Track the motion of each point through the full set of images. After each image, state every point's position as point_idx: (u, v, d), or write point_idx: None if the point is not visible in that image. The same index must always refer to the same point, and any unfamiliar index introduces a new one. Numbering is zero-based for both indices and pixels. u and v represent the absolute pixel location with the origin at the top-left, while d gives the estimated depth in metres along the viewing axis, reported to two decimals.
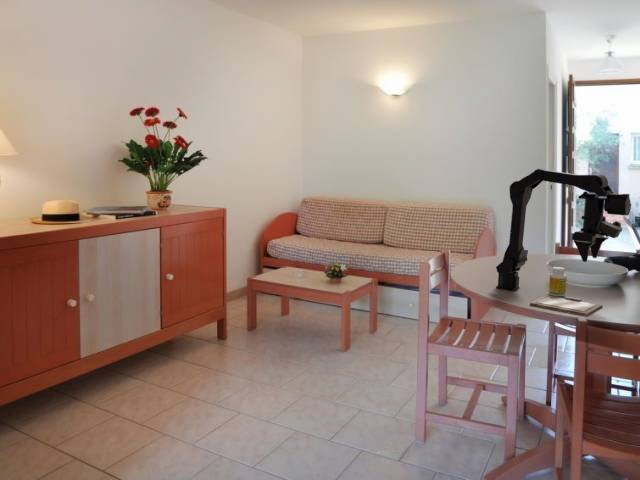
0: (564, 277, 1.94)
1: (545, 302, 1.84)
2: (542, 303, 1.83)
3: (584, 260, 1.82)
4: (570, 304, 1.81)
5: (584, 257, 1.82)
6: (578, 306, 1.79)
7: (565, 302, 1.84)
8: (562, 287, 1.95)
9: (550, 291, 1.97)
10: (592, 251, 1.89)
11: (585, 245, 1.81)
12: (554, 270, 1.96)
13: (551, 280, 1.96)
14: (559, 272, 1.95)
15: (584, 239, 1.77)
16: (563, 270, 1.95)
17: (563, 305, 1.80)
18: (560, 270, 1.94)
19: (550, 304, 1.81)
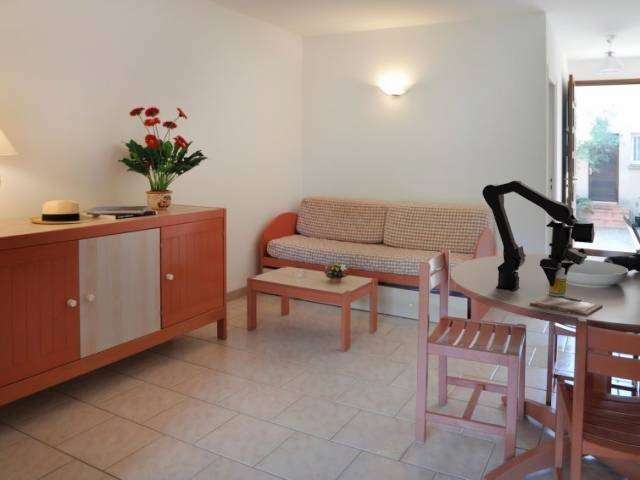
0: (564, 277, 1.94)
1: (545, 302, 1.84)
2: (542, 303, 1.83)
3: (551, 285, 1.94)
4: (570, 304, 1.81)
5: (551, 282, 1.93)
6: (578, 306, 1.79)
7: (565, 302, 1.84)
8: (562, 287, 1.95)
9: (550, 291, 1.97)
10: None
11: (552, 271, 1.92)
12: None
13: None
14: (559, 272, 1.95)
15: (550, 266, 1.89)
16: (563, 270, 1.95)
17: (563, 305, 1.80)
18: (560, 270, 1.94)
19: (550, 304, 1.81)
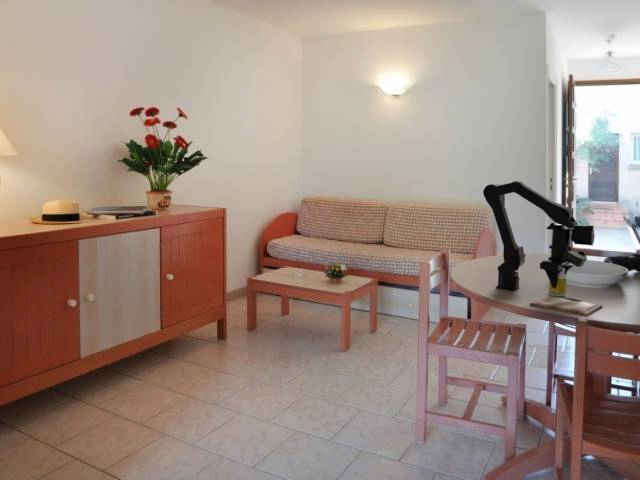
0: (564, 277, 1.94)
1: (545, 302, 1.84)
2: (542, 303, 1.83)
3: (553, 286, 1.95)
4: (570, 304, 1.81)
5: (553, 283, 1.95)
6: (578, 306, 1.79)
7: (565, 302, 1.84)
8: (562, 287, 1.95)
9: (550, 291, 1.97)
10: None
11: (554, 272, 1.93)
12: None
13: None
14: None
15: (551, 268, 1.89)
16: (563, 270, 1.95)
17: (563, 305, 1.80)
18: None
19: (550, 304, 1.81)
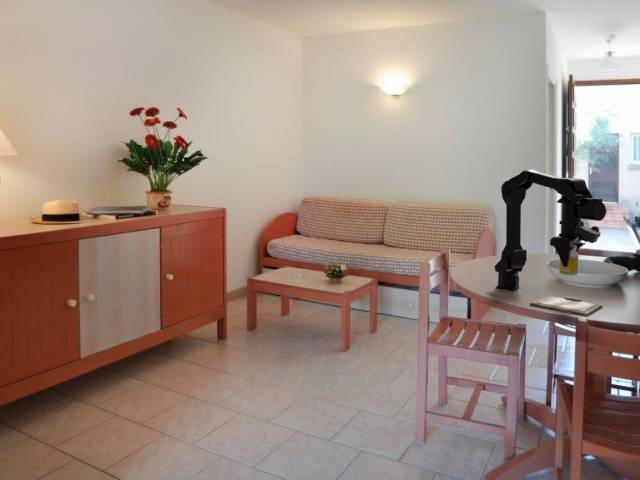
0: (576, 255, 1.80)
1: (545, 302, 1.84)
2: (542, 303, 1.83)
3: (564, 265, 1.80)
4: (570, 304, 1.81)
5: (564, 262, 1.80)
6: (578, 306, 1.79)
7: (565, 302, 1.84)
8: (574, 266, 1.80)
9: (561, 270, 1.82)
10: None
11: (565, 250, 1.79)
12: None
13: None
14: None
15: (562, 244, 1.74)
16: (575, 247, 1.80)
17: (563, 305, 1.80)
18: None
19: (550, 304, 1.81)
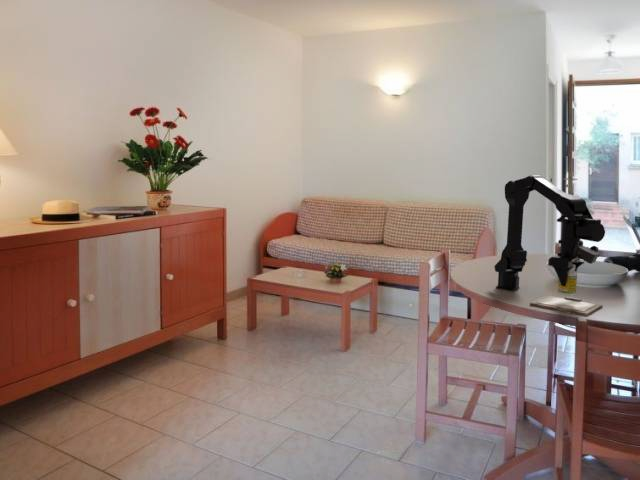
0: (575, 274, 1.79)
1: (545, 302, 1.84)
2: (542, 303, 1.83)
3: (563, 284, 1.80)
4: (570, 304, 1.81)
5: (563, 281, 1.79)
6: (578, 306, 1.79)
7: (565, 302, 1.84)
8: (573, 286, 1.79)
9: (559, 289, 1.82)
10: None
11: (564, 269, 1.78)
12: None
13: None
14: None
15: (560, 265, 1.74)
16: None
17: (563, 305, 1.80)
18: None
19: (550, 304, 1.81)
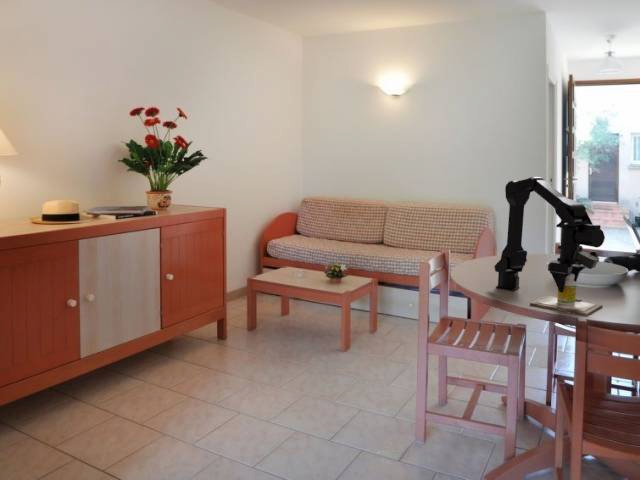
0: (574, 284, 1.80)
1: (545, 302, 1.84)
2: (542, 303, 1.83)
3: (561, 291, 1.79)
4: None
5: (560, 287, 1.78)
6: (578, 306, 1.79)
7: None
8: (572, 295, 1.80)
9: (558, 299, 1.82)
10: None
11: (561, 276, 1.77)
12: None
13: None
14: (568, 279, 1.80)
15: (560, 270, 1.74)
16: (573, 276, 1.80)
17: (563, 305, 1.80)
18: (569, 277, 1.80)
19: (550, 304, 1.81)
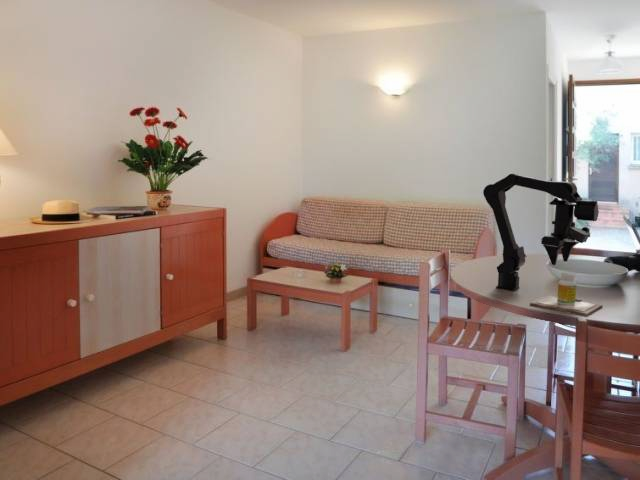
0: (574, 284, 1.80)
1: (545, 302, 1.84)
2: (542, 303, 1.83)
3: (553, 263, 1.91)
4: None
5: (553, 260, 1.91)
6: (578, 306, 1.79)
7: None
8: (572, 295, 1.80)
9: (559, 299, 1.82)
10: (563, 255, 1.98)
11: (554, 249, 1.90)
12: (563, 277, 1.81)
13: (560, 287, 1.81)
14: (568, 279, 1.80)
15: (552, 243, 1.86)
16: (573, 277, 1.80)
17: (563, 305, 1.80)
18: (569, 277, 1.80)
19: (550, 304, 1.81)
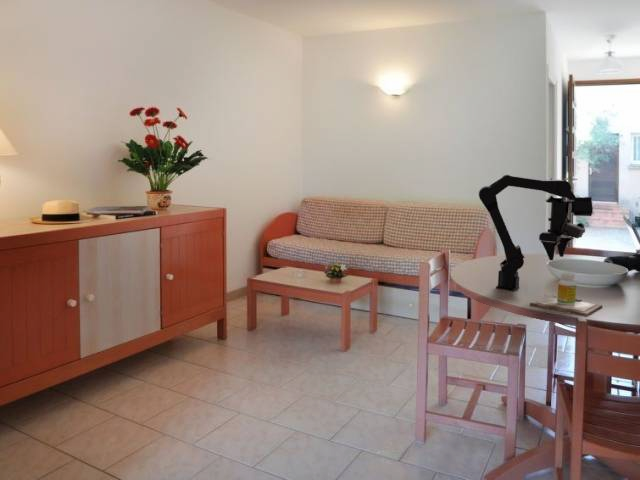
0: (574, 284, 1.80)
1: (545, 302, 1.84)
2: (542, 303, 1.83)
3: (550, 259, 1.98)
4: None
5: (550, 256, 1.98)
6: (578, 306, 1.79)
7: None
8: (572, 295, 1.80)
9: (559, 299, 1.82)
10: (559, 250, 2.05)
11: (551, 245, 1.96)
12: (563, 276, 1.81)
13: (560, 287, 1.81)
14: (568, 279, 1.80)
15: (550, 239, 1.93)
16: (573, 277, 1.80)
17: (563, 305, 1.80)
18: (569, 277, 1.80)
19: (550, 304, 1.81)
